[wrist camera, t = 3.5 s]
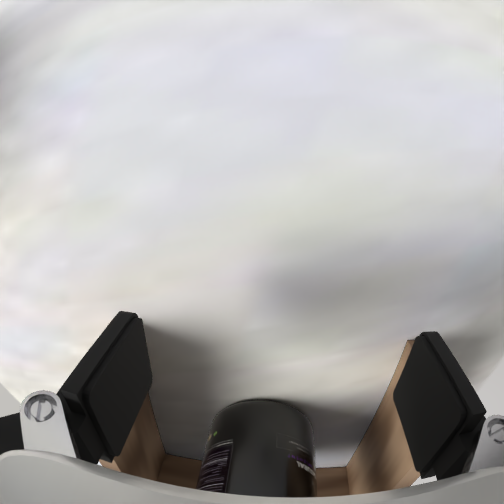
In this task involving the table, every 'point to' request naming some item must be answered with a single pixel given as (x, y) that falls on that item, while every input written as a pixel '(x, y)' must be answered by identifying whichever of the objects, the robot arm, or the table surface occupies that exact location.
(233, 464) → the supplement bottle
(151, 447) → the walnut u-shaped bracket
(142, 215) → the table surface
